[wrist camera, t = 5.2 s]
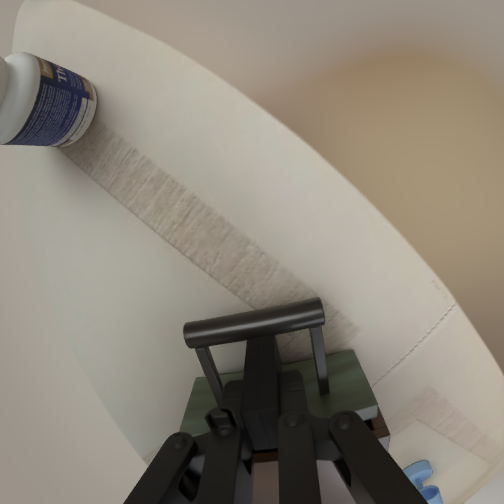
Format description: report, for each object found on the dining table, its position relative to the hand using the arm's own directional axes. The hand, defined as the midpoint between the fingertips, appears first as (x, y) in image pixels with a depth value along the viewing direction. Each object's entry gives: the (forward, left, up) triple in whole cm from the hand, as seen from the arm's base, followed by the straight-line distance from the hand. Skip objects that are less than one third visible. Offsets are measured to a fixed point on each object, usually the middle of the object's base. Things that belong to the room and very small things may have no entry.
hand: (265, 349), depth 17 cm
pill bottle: (-10, +18, -3) cm, 21 cm away
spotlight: (+14, -28, -3) cm, 31 cm away
